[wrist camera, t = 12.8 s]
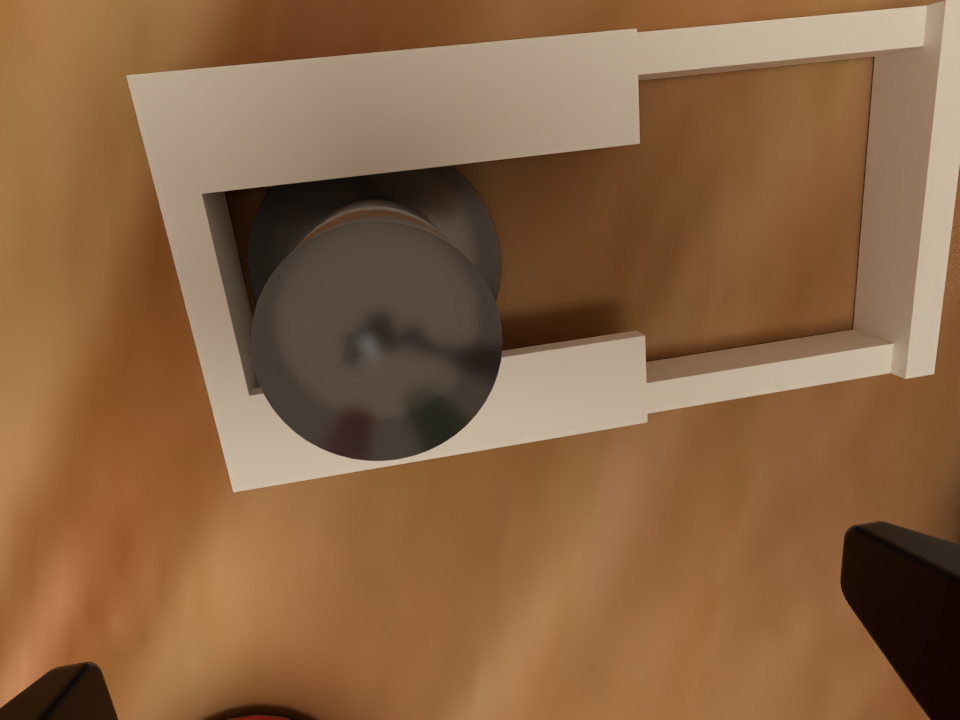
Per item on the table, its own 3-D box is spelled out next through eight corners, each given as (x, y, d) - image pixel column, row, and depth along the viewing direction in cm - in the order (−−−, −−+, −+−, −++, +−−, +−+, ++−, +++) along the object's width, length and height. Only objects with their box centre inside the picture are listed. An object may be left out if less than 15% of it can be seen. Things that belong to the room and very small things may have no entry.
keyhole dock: (907, 17, 19) (979, -3, 17) (876, 352, 22) (933, 373, 20) (160, 87, 16) (126, 75, 14) (249, 454, 20) (233, 492, 17)
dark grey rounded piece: (482, 126, 18) (577, 92, 10) (505, 359, 20) (599, 500, 12) (229, 153, 17) (86, 143, 9) (281, 393, 19) (207, 572, 11)
